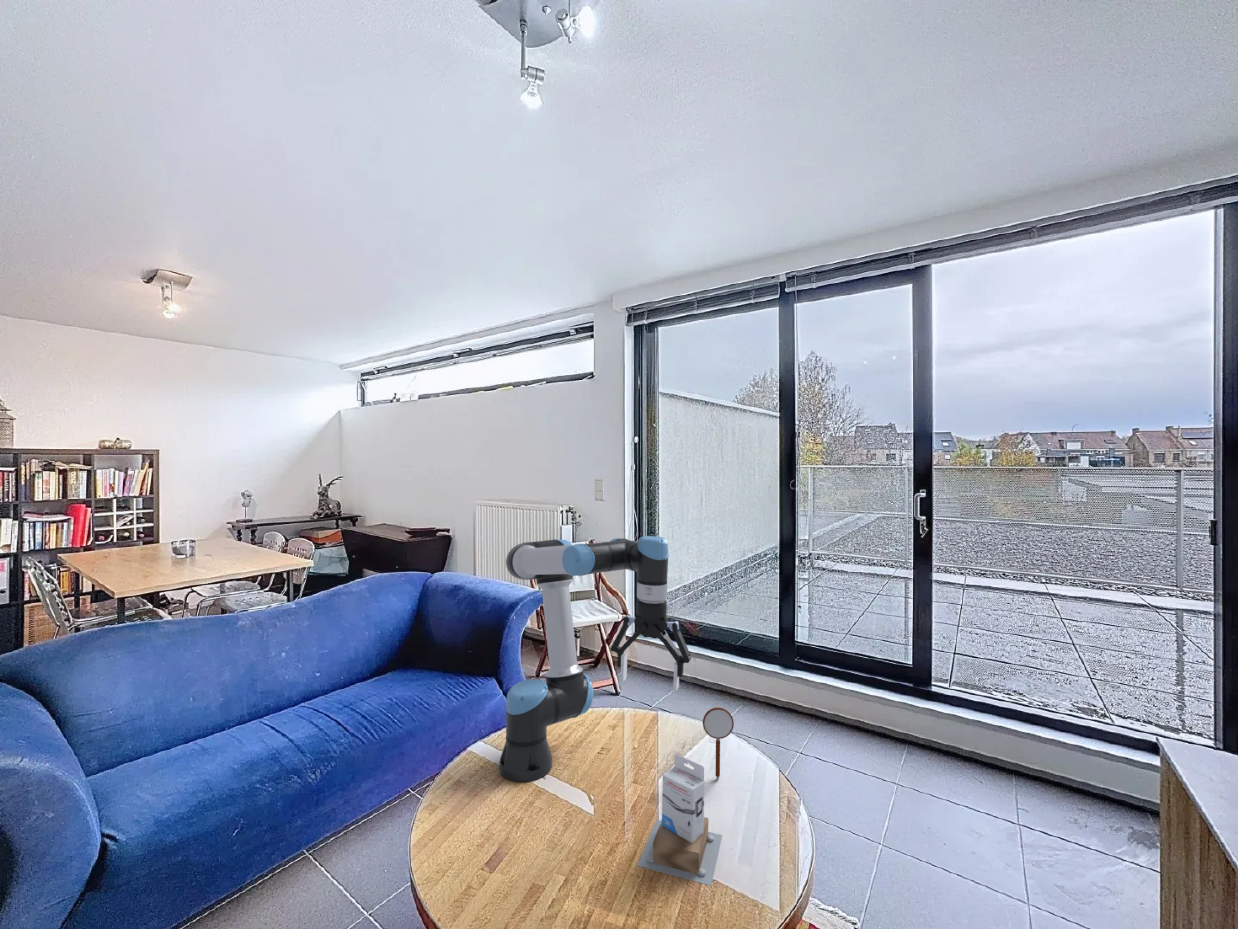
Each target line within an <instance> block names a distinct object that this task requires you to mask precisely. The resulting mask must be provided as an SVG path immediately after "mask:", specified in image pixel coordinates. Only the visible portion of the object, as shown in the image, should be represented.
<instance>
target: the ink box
mask: <svg viewBox="0 0 1238 929" xmlns="http://www.w3.org/2000/svg"><path fill="white" fill-rule="evenodd" d="M687 765H689V766H691V768H690V767H688V766H687ZM705 784H706V782H705V767H704V766H703V765H701V764H700V763H697V762H695V761H693V760H690V759H688V758H686V757H684V756H681V755H679V754H677V753H676V754H674V766H673V767H672V768H670V769H669V770H667V771H666V772H665V773H663V774H662V792H661V794H662V796H661V797H662V798H661V799H662V801H661V821H662V826H663V827H665V828H666V829H668V830H670V831H672V832H673V833H675V834H677V835H679V836H680V837H682V838H684V839H686V840H687V841H689V842H691V843H693V842H694V841H695V840H696V839H697V838H698V837H699V836H700V835H701V834H702V833H703V830H704V817H705Z"/></svg>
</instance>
